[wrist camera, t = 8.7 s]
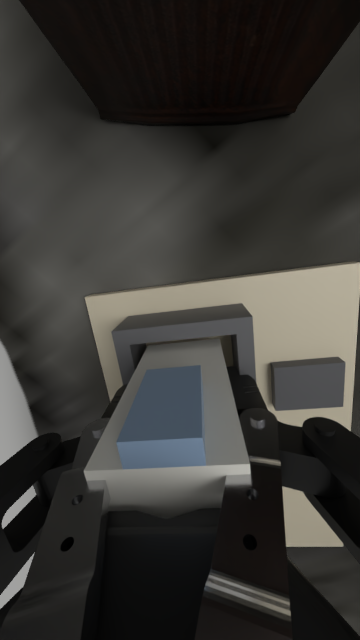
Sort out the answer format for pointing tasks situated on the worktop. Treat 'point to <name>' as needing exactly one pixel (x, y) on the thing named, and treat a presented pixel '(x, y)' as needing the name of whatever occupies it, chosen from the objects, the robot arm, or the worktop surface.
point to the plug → (172, 433)
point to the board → (252, 347)
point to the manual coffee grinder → (195, 54)
